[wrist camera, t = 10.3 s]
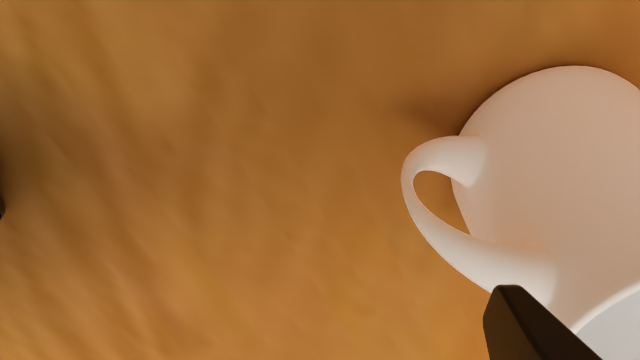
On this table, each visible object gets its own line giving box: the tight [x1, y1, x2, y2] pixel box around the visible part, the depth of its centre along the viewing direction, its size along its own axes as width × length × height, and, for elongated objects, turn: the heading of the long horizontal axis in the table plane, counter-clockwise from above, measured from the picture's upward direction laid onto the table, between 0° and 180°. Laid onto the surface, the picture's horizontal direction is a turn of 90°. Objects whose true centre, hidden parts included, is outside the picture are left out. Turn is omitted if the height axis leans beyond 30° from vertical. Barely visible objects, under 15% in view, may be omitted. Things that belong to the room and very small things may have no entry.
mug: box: [401, 66, 640, 360], centre depth 19 cm, size 9×12×11 cm
